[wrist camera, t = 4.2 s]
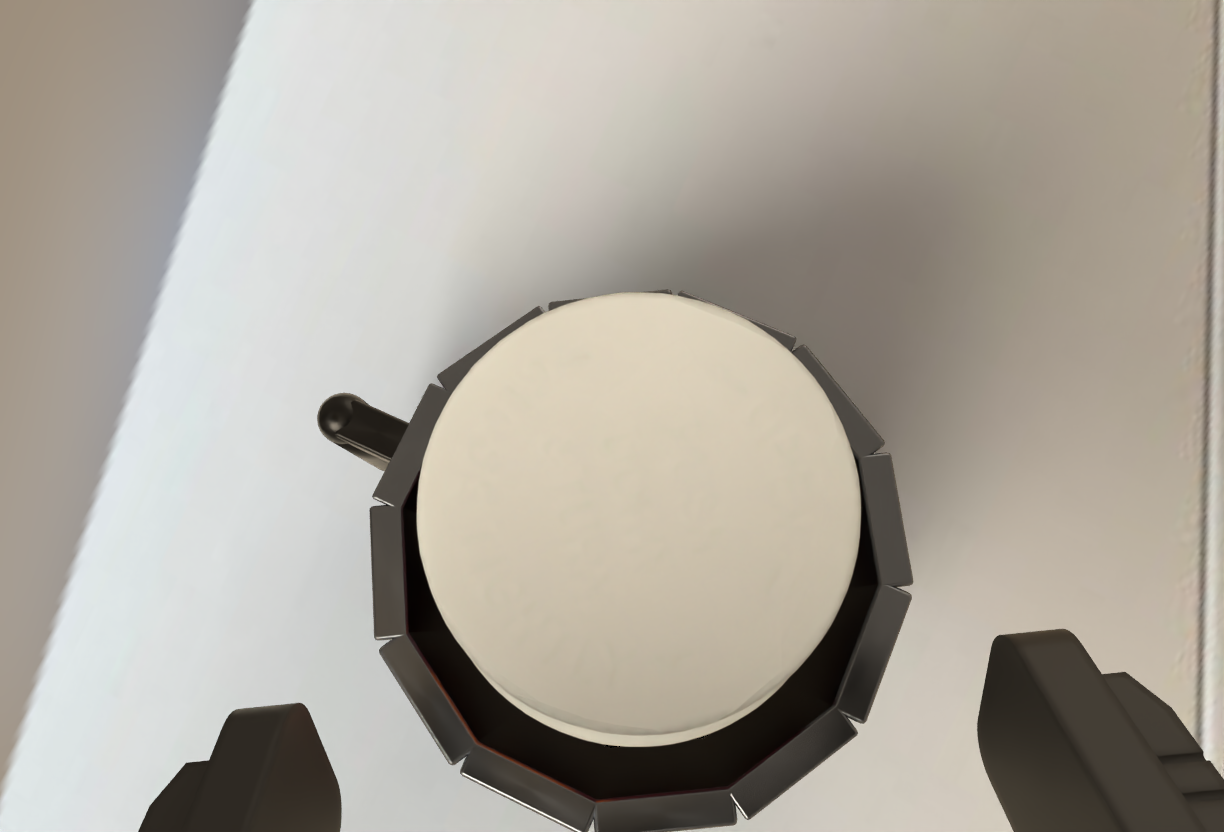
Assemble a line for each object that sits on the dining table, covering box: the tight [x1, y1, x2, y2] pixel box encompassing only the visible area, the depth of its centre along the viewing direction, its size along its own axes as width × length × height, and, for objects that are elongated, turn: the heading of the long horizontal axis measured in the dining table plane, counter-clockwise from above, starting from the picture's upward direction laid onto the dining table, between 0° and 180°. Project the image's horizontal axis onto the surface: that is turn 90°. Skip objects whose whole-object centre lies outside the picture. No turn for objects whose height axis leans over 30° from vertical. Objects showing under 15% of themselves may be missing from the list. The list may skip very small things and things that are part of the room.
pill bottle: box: [417, 292, 861, 747], centre depth 15 cm, size 6×6×11 cm
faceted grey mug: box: [317, 290, 913, 832], centre depth 18 cm, size 11×9×6 cm
